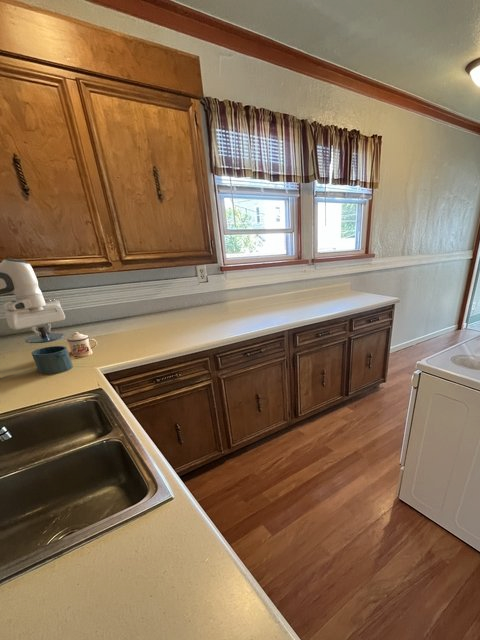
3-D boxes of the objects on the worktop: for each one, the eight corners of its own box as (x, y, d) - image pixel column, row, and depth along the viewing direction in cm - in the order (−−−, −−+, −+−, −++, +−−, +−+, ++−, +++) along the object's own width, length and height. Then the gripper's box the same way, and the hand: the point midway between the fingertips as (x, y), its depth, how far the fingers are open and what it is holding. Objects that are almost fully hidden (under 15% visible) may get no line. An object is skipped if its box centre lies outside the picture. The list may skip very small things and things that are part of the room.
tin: (53, 378, 137) (45, 357, 133) (30, 371, 145) (21, 351, 140) (82, 369, 147) (76, 349, 143) (59, 362, 155) (52, 343, 150)
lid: (37, 346, 132) (32, 332, 129) (19, 342, 137) (13, 328, 135) (71, 337, 142) (67, 324, 140) (53, 334, 148) (48, 321, 145)
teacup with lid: (72, 358, 160) (64, 335, 154) (72, 353, 166) (64, 331, 161) (100, 354, 166) (93, 331, 160) (98, 349, 172) (92, 328, 167)
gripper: (53, 297, 142) (64, 328, 148) (-2, 305, 126) (12, 340, 132) (62, 298, 139) (72, 330, 146) (6, 306, 123) (21, 342, 130)
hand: (43, 335), depth 139 cm, fingers closed on lid, 2 cm apart
